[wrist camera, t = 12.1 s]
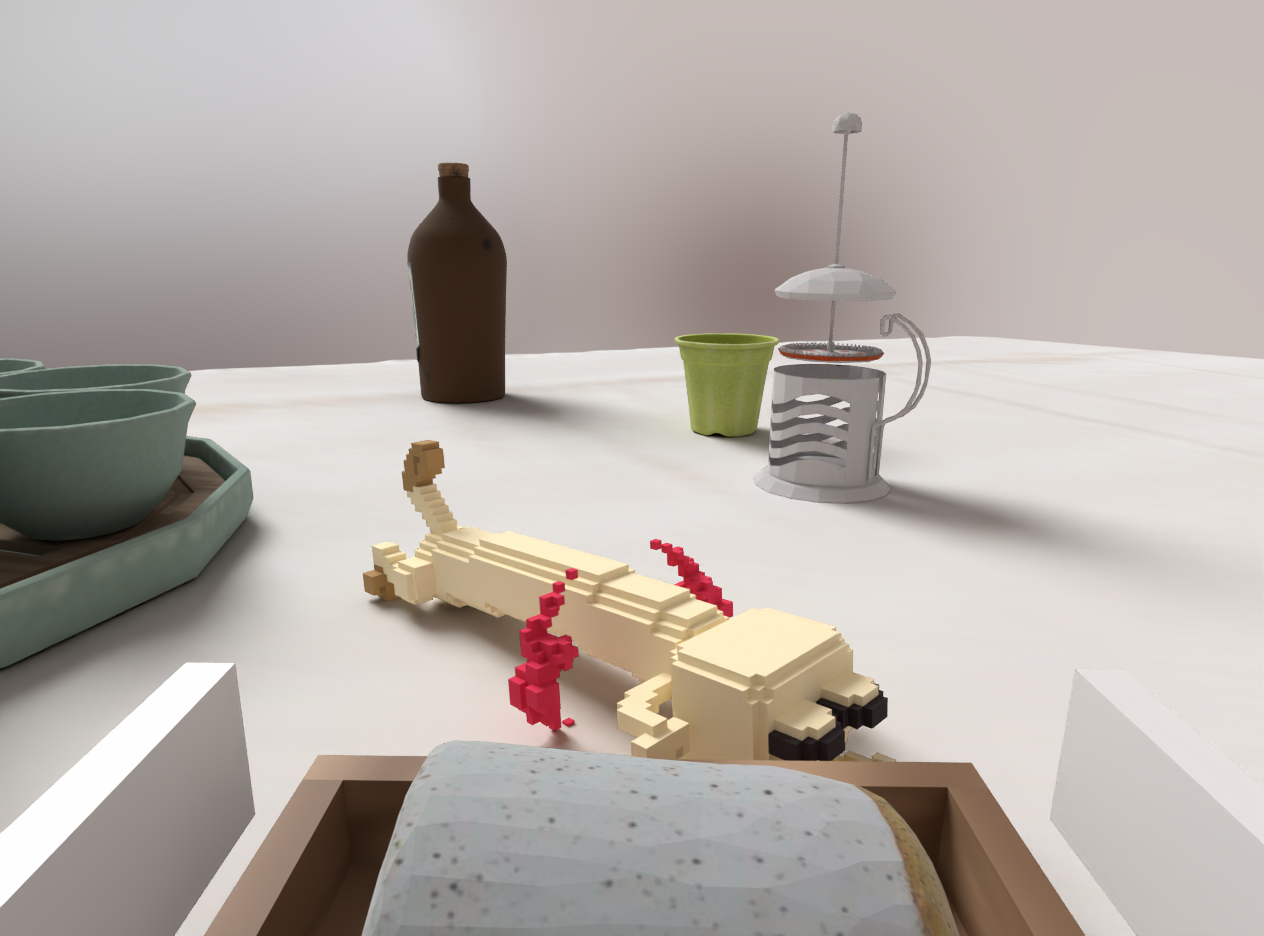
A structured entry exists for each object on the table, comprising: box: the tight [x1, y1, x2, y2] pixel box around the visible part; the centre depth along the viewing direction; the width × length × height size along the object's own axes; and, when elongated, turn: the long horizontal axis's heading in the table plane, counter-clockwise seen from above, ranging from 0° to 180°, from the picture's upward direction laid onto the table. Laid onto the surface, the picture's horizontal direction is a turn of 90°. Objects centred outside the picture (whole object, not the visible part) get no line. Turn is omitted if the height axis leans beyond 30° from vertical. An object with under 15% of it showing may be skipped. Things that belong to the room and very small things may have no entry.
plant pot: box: [675, 334, 779, 437], centre depth 74 cm, size 9×9×9 cm
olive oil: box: [408, 163, 507, 403], centre depth 88 cm, size 11×11×25 cm
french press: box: [753, 113, 931, 503], centre depth 55 cm, size 10×12×25 cm
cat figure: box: [363, 440, 896, 762], centre depth 31 cm, size 10×9×25 cm
